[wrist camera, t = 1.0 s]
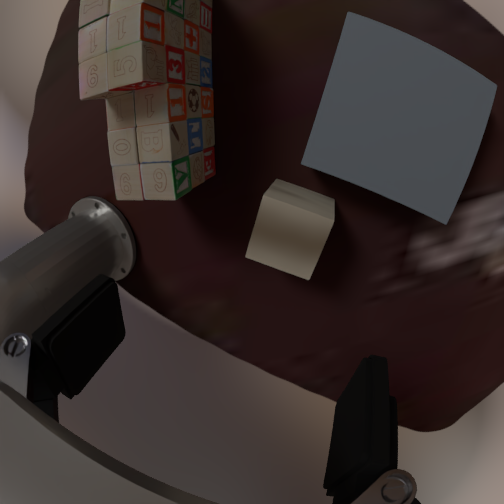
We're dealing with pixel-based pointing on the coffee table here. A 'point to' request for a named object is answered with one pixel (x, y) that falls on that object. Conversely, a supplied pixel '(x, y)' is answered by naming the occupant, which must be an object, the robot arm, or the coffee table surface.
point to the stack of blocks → (151, 91)
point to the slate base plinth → (399, 118)
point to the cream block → (291, 228)
